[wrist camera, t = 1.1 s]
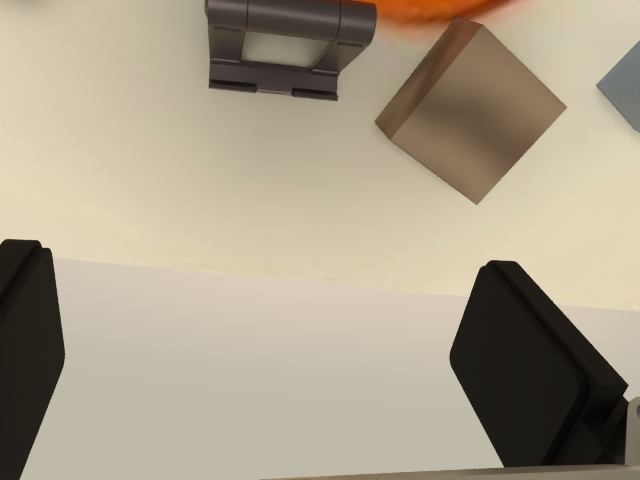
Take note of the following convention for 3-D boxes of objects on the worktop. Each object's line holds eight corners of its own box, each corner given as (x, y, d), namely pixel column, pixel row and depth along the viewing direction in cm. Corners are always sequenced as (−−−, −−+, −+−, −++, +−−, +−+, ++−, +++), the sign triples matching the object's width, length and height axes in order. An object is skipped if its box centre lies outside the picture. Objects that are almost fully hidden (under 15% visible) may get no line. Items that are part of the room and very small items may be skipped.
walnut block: (455, 16, 35) (483, 24, 31) (533, 91, 39) (567, 107, 35) (373, 120, 38) (389, 140, 34) (454, 181, 42) (477, 205, 38)
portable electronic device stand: (206, 82, 35) (201, 118, 27) (210, -49, 31) (204, -46, 24) (331, 95, 36) (356, 132, 29) (349, -27, 33) (383, -19, 25)
